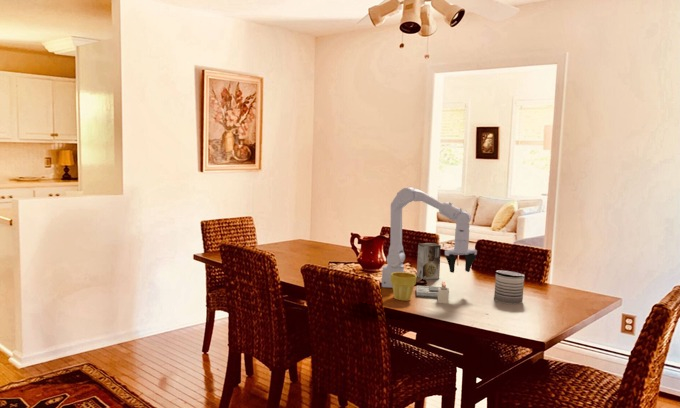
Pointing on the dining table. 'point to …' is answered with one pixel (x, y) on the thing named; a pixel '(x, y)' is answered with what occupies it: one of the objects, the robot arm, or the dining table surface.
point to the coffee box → (428, 260)
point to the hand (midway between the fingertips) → (459, 271)
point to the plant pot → (403, 285)
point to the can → (509, 287)
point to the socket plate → (425, 292)
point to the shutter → (435, 289)
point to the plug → (443, 295)
